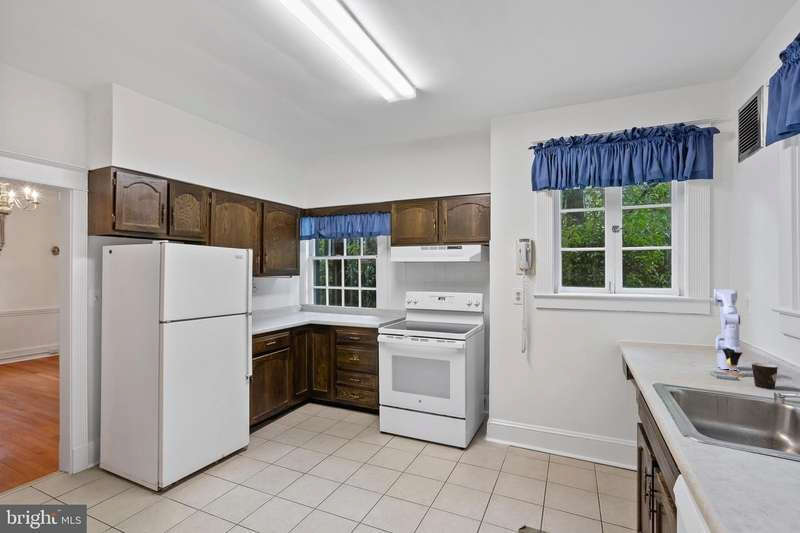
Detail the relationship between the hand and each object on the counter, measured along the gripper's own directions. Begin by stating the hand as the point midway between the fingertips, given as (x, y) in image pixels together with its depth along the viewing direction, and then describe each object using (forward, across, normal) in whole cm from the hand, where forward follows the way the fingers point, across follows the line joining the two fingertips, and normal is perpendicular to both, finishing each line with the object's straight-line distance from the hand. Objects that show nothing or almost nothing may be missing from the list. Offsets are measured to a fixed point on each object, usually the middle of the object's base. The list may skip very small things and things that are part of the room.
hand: (732, 364), depth 194 cm
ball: (-1, 0, 0) cm, 1 cm away
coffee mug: (+6, +23, +3) cm, 24 cm away
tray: (+5, +8, -6) cm, 11 cm away
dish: (+5, 0, 0) cm, 5 cm away
